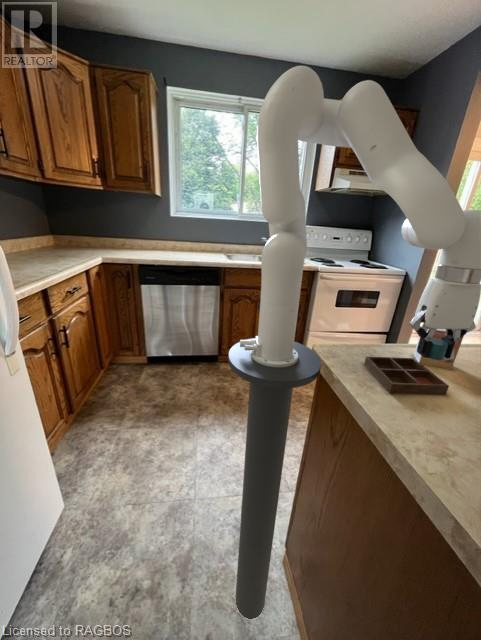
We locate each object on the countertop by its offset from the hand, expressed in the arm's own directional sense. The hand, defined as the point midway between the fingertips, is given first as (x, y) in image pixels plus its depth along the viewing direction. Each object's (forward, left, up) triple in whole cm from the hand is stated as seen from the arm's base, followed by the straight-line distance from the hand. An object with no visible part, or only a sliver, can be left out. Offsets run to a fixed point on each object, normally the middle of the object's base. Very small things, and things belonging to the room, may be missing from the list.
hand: (432, 354), depth 61 cm
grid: (-3, +3, -9) cm, 10 cm away
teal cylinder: (0, 0, 0) cm, 0 cm away
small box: (+11, +12, -9) cm, 18 cm away
